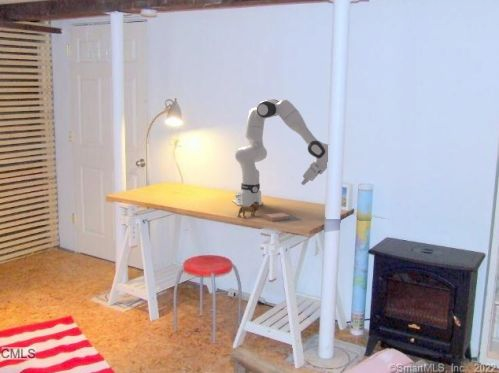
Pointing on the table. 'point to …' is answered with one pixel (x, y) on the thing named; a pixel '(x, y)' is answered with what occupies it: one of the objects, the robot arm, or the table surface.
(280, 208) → the table surface
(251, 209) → the lion figurine
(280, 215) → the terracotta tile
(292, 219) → the rubber mat
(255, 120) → the robot arm
